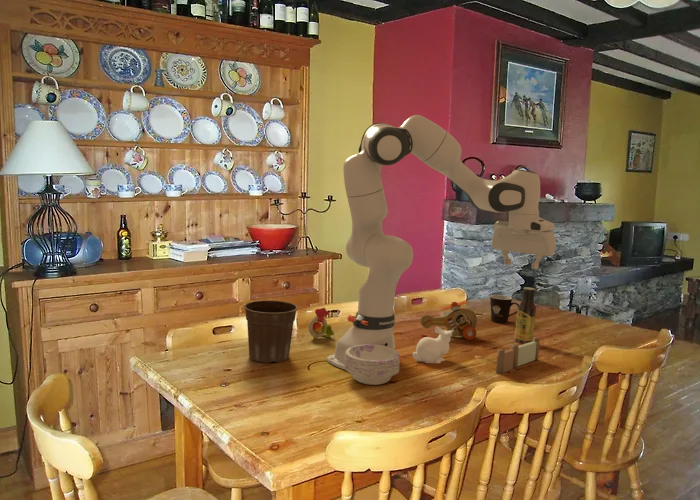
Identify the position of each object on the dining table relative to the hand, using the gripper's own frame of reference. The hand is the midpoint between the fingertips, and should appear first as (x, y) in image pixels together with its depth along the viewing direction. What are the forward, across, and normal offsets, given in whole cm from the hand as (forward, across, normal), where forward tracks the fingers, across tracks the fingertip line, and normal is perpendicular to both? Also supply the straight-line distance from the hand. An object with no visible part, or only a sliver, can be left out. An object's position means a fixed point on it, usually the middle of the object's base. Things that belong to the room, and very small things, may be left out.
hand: (520, 266), depth 177 cm
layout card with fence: (+30, 0, -7) cm, 31 cm away
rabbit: (+30, -14, -23) cm, 40 cm away
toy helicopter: (+30, -28, +3) cm, 41 cm away
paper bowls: (+28, -15, -51) cm, 60 cm away
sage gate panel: (+29, +5, -2) cm, 30 cm away
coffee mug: (+32, -29, +38) cm, 57 cm away
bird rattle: (+29, -54, -36) cm, 71 cm away
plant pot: (+28, -48, -62) cm, 83 cm away
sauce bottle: (+31, -8, +18) cm, 37 cm away
